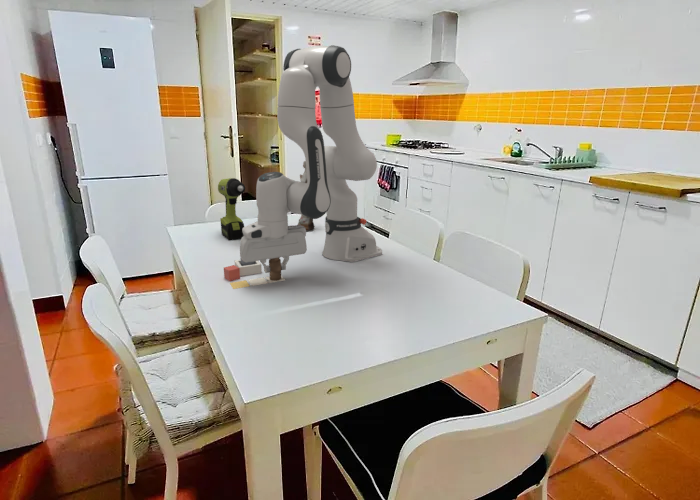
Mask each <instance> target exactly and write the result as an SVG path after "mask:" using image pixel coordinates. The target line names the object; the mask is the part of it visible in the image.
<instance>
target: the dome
mask: <svg viewBox="0 0 700 500" xmlns="http://www.w3.org/2000/svg"><path fill="white" fill-rule="evenodd" d="M239 260H241V266H246V265H253V264H255V261H252V262H244V261H243V260H242V259H241V257H240V259H239Z"/></svg>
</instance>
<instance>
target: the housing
mask: <svg viewBox="0 0 700 500" xmlns="http://www.w3.org/2000/svg"><path fill="white" fill-rule="evenodd" d="M233 262H234V265H235V266H236V267H238V268H239V271H240V277H245V276H250V275H256V274H262V273H263V271H262V269H263V268H262V263H261V262H260V260H259V261H255V264H253V265H246V266H241V260H240V259H237V260H234V261H233Z"/></svg>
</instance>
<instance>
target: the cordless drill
mask: <svg viewBox="0 0 700 500" xmlns="http://www.w3.org/2000/svg"><path fill="white" fill-rule="evenodd" d="M217 191H218V193H219V194H220V195H222V196H223V197H224V198H225V216H222V217H220V230H221V231H220V232H221V235H222V236H223V237H224V238H225V239H226V240H227V241H237V240H241V238H242V237H243V236H244V234H243V232H242V229H243V227H245V223H244V221H243V220H242V219H241V218H240V217H239V216H237V214H236V213H237V212H236V205H237V204H238V202H237V199H238V198H239V197H240V196H241V195H242V194H243V193H245V191H246V187H245V184H244V183H243V182H242V181H241V180H239V179H237V178H235V177H232V178H231V177H230V178H228V177H227V178H222V179H220V181H219V182H218V185H217Z"/></svg>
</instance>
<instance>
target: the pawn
mask: <svg viewBox="0 0 700 500" xmlns="http://www.w3.org/2000/svg"><path fill="white" fill-rule="evenodd" d="M281 263H282V260H281V257H279V258H273V259H268V265H269V266H270V272H268V273H269V276H270V280H274V281H275V280H280V279H281V276H282V270H281ZM269 276H268V277H269Z"/></svg>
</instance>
